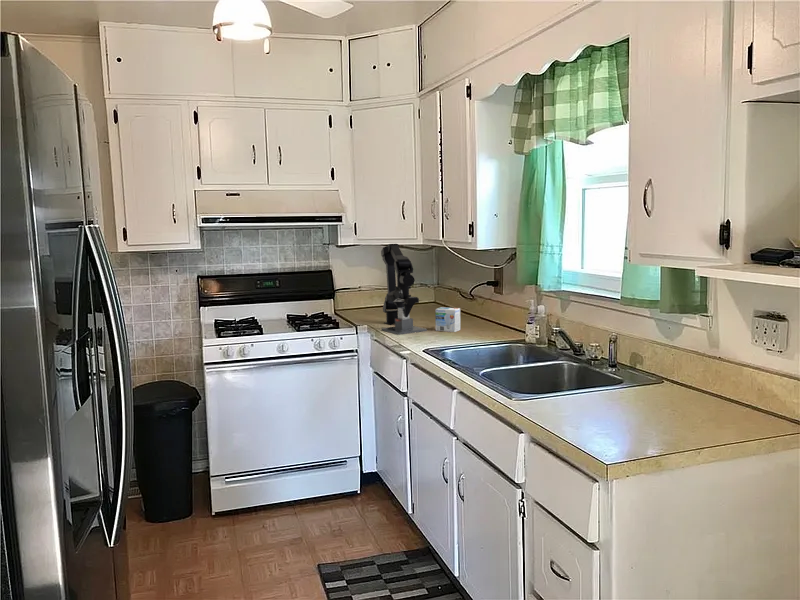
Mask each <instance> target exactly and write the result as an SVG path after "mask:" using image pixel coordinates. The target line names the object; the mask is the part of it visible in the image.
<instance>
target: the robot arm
mask: <svg viewBox="0 0 800 600" xmlns="http://www.w3.org/2000/svg"><path fill="white" fill-rule="evenodd" d="M380 256H381V258H382V262H383V263H384V264H385V269H386V271H385V272H386V283H387V284H386V285H387V286H386V287H387V293H386V294H385V297H384V302H383V306H382V312H383V313H385V317H386V320H385V321H384V322H383V324H384V325H385V324H386V325H391V326H393V325H395V318H398V308H402V307H404V308H405V316H406V317H408V315H409V316H410V313H411V311H412V309H413V307H414V305H416V304H419V303H420V299H419V297H418V296H412V295H411V294H410V290H411V289H412V287H411V286H413V285H414V283H415V281H416V280H415V277H414V276H413V273H414V266H413V263H412V262H411V260H410V259H409V257H408V256H405V255H404V254H403V253H402V250H401V249H400V246H399V244H398V243H389V244H387V245H386V246H384V247H382V249H381V251H380Z"/></svg>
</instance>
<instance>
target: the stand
mask: <svg viewBox="0 0 800 600" xmlns="http://www.w3.org/2000/svg"><path fill="white" fill-rule="evenodd" d="M381 331H383V332H387V333H391V334H395V335H398V336H400V335H407V334H409V335H410V334H414V333H415V332H416V333H422V332H428V329H427V328H425V327H420V326H416V325H414V319H413V317H410V319H404V320H401V319H398V318H395V324H394V326H390V327H382V328H381Z"/></svg>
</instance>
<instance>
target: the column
mask: <svg viewBox="0 0 800 600" xmlns="http://www.w3.org/2000/svg"><path fill="white" fill-rule="evenodd" d="M410 318H411V317H410V314H409V315H408V317H406V316H405V308H404V307H402V308H398V319H401V320H404V319H410Z"/></svg>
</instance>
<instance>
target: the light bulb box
mask: <svg viewBox="0 0 800 600" xmlns="http://www.w3.org/2000/svg"><path fill="white" fill-rule="evenodd" d="M434 310H435V311H434V312H435V331H436V332H437V331H439V332H449V333H456V332H458V331H461V307H443V306H442V307H441V306H440V307H438V308H435V309H434Z"/></svg>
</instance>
